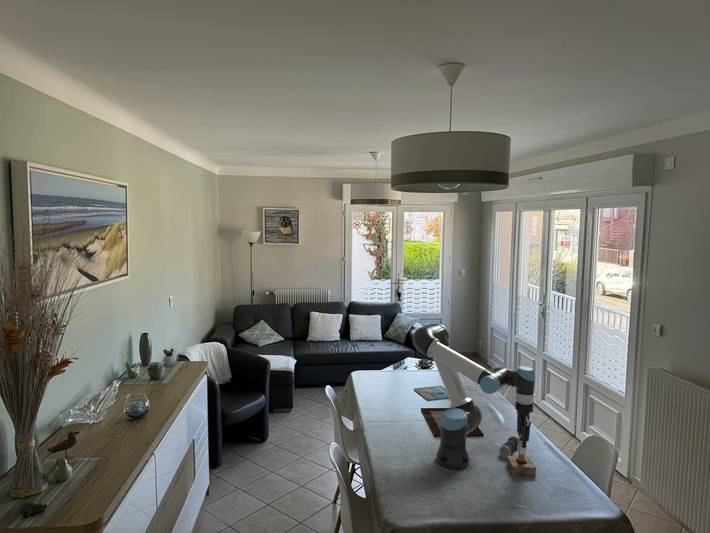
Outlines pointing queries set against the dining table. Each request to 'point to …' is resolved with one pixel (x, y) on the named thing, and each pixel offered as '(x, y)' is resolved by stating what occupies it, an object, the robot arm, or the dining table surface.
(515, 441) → the flashlight
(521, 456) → the peg
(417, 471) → the dining table surface
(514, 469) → the socket block
